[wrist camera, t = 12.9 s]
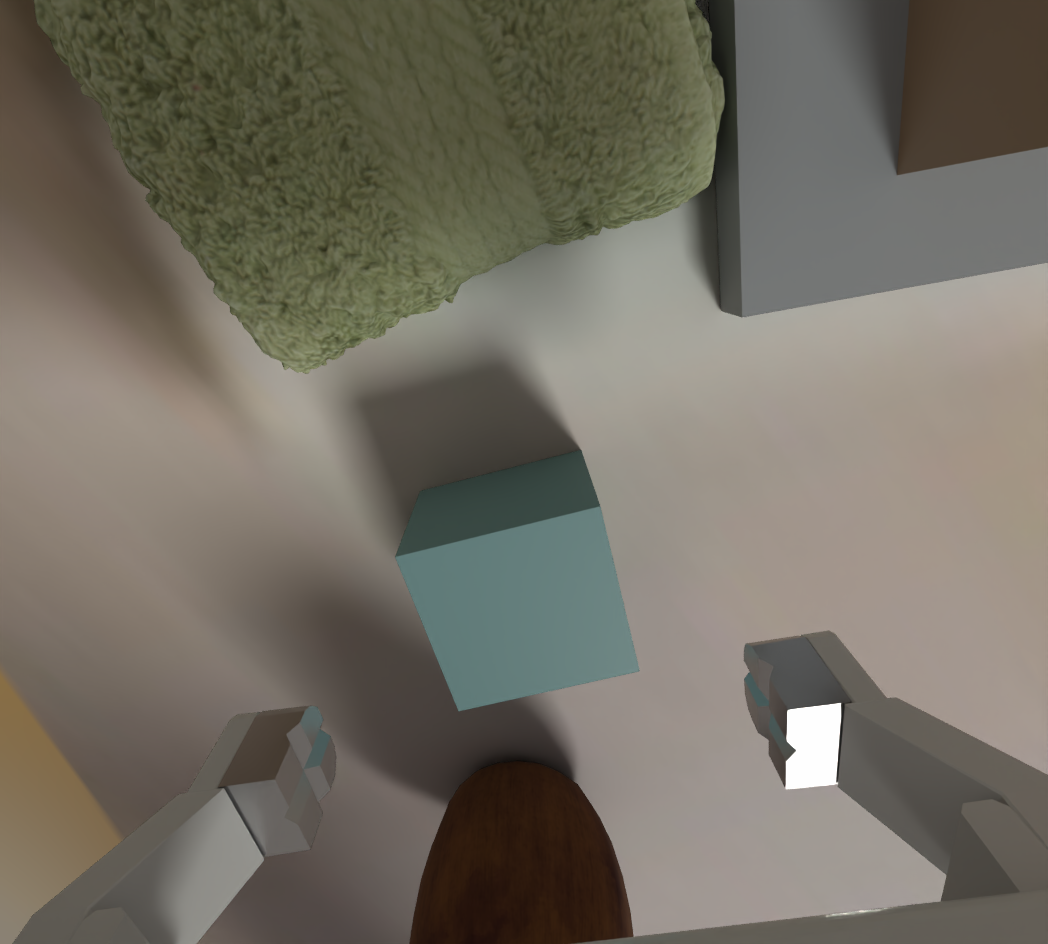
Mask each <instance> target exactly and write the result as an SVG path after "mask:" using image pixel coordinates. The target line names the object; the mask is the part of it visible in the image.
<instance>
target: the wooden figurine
mask: <svg viewBox="0 0 1048 944" xmlns="http://www.w3.org/2000/svg"><path fill="white" fill-rule="evenodd" d="M627 937H633V929H632V921H631V913H630V907H629V903H628V898H627V894H626V889H625V885H624V880H623V876H622V873H621V870H620V867H619V863H618V860H617V857H616V854H615V851H614V848H613V845H612V842H611V840H610V838H609V836H608V834H607V832H606V830H605V828H604V826H603V824H602V821H601V819H600V817H599V816H598V814H597V813H596V811H595V809H594V808H593V806H592V805H591V803H590V802H589V800H588V799H587V797H586V796H585V794H584V793H583V791H582V790H581V788H580V787H579V786H578V784H576V783H575V782H573V781H572V780H570V779H569V778H567V777H566V776H564V775H563V774H561V773H560V772H558V771H556V770H554V769H551V768H549V767H546V766H544V765H541V764H539V763H531V762H522V761H514V762H502V763H497V764H494V765H491V766H488V767H485V768H482V769H480V770H479V771H477V772H475V773H474V774H473V775H472V776H471V777H469V778H468V779H467V780H466V781H465V782H463V783H462V784H461V785H460V786H459V788H458V790H457V791H456V793H455V794H454V796H453V797H452V799H451V800H450V802H449V804H448V807H447V809H446V812H445V814H444V817H443V819H442V822H441V824H440V827H439V829H438V832H437V834H436V837H435V839H434V842H433V844H432V846H431V850H430V853H429V856H428V859H427V862H426V866H425V869H424V872H423V875H422V878H421V882H420V887H419V892H418V897H417V902H416V907H415V912H414V917H413V924H412V930H411V937H410V943H409V944H575V943H584V942H592V941H601V940H610V939H619V938H627Z"/></svg>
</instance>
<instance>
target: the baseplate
mask: <svg viewBox="0 0 1048 944" xmlns="http://www.w3.org/2000/svg"><path fill="white" fill-rule="evenodd" d="M709 18H710V31H711V32H712V38H711V60H712V61H713V62H714V64H715V65H716V67H717V69H718V71H719V73H720V76H722V78H723V86H724V96H725V104H724V109H723V111H722V113H721V119H720V124H719V130H718V132H717V139H716V151H715V172H716V198H717V223H718V249H719V275H720V300H721V311H723V312H726V313H730V314H733V315H736V316H739V317H747V316H753V315H758V314H764V313H770V312H775V311H781V310H786V309H792V308H797V307H803V306H808V305H814V304H820V303H825V302H831V301H836V300H842V299H847V298H853V297H859V296H864V295H870V294H875V293H881V292H886V291H892V290H898V289H903V288H909V287H914V286H920V285H925V284H931V283H936V282H942V281H948V280H953V279H959V278H964V277H970V276H975V275H981V274H987V273H992V272H998V271H1003V270H1009V269H1014V268H1020V267H1026V266H1031V265H1037V264H1042V263H1048V0H709Z"/></svg>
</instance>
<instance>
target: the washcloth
mask: <svg viewBox="0 0 1048 944" xmlns="http://www.w3.org/2000/svg"><path fill="white" fill-rule="evenodd" d="M33 1H34V6H35V14H36V19H37V24H38V25H39V26H40V28H41V29H42V30H43V31H44V32H45V33H46V34H47V35H48V36H49V37H50V40H51V43H52V45H53V47H54V49H55V51H56V53H57V55H58V56H59V58H60V59H61V61H62V62H63V63H64V64H66V65H67V66H69V67H70V70H71V74H72V76H73V77H74V78H75V79H76V80H77V81H78V83H80V84H81V85H82V86H81V88H80V89H81V91H82V94H83V95H86V96H88V97H91V98H93V99H94V100H95V101H97V102H98V103H99V104H100V105H101V108H102V115H103V118H104V119H105V120H106V122H107V123H108V124H109V128H110V133H111V137H112V142H113V146H114V148H115V149H117V150H119V152H120V154H121V157H122V160H123V162H124V164H125V166H126V168H127V170H128V173H129V174H131V175H132V176H133V177H134V178H135V179H136V180H137V181H138V182H140V183H141V184H142V185H143V186H145V187H147V188H149V189H150V190H151V191H150V193H149V194H148V195H146V200H145V201H146V202H148V203H149V205H150V207H151V208H152V210H153V211H154V212H155V213H157V214H158V216H159V217H160V218H161V219H163V220H165V221H167V222H169V224H170V225H171V226H172V228H173V229H174V230H175V232H176V233H177V234H178V235H179V236H180V237H181V243H182V245H183V247H184V249H186V250H188V251H189V252H191V253H192V254H193V255H194V256H195V257H196V259H197V260H198V262H199V264H200V266H201V268H202V269H203V270H204V272H205V273H206V275H207V277H208V278H209V279H210V280H212V281H213V282H214V283H215V286H214V294H215V295H216V296H217V297H218V298H219V299H220V300H221V301H223V302H225V303H227V304H228V305H229V306H230V313H231V314H232V315H236V316H237V318H238V320H239V322H241V323H242V325H243V327H244V328H245V329H246V330H247V331H248V332H249V333H250V334H251V336H252V337H253V339H254V340H255V343H256V344H257V345H258V346H259V347H260V349H261V350H262V352H263V353H264V354H266V355H269V356H270V357H271V358H274V359H277V360H279V361H281V362H282V365H283V367H284V370H286V369H288V368H289V367H290V368H291V369H292V370H294V371H296V372H298V373H299V372H303V373H305V374H308V373H309V371H310V369H316V368H318V367H319V366H321V365H327V363H326V360H327V359H332V360H335V359H337V358H339V357H340V356H341V355H343V354H344V351H345V349H346V348H354V347H355V346H356V345H359V344H360V343H361V342H362V341H364V340H366V339H368V338H374V339H375V338H378V337H381V336H383V335H385V331H386V328H387V327H388V328H391V327H394V326H395V325H397V323H398V322H399V319H400V318H402V317H405V318H407V317H408V316H409V315H411V314H422V313H426V312H429V311H434V310H436V309H438V307H439V305H440V304H441V303H442V302H443V301H444V300H446V301H448V302H449V303H453V299H454V296H456V293H457V291H458V289H459V286H460V284H461V283H463V282H465V281H467V280H468V279H469V278H471V277H472V276H474V275H478V274H482V273H485V272H488V271H489V270H491V269H492V268H493V267H495V266H496V265H499V264H502V263H505V262H508V261H511V260H512V259H514V258H515V257H517V256H518V255H520V254H521V253H523V252H526V251H529V250H531V249H533V248H535V247H536V246H538V245H541V244H544V243H549V244H553V245H562V244H566V243H569V242H570V241H572V240H577V239H581V240H583V239H584V238H585V237H587V236H589V235H598V234H599V233H600V231H601V229H602V227H603V226H604V227H606V228H608V229H615V228H619V227H622V226H623V225H626V224H629V223H630V222H631V221H640V220H643V219H647V218H654V217H657V216H659V215H661V214H663V213H665V212H668V211H670V210H672V209H674V208H678V207H679V206H680V205H681V204H682V203H686V202H687V201H688V200H689V199H690V198H692V197H694V196H695V195H696V194H698V193H699V192H701V191H702V190H704V189H705V188H707V187H708V186H709V184H710V182H711V179H712V173H713V166H714V159H715V151H716V139H717V132H718V130H719V124H720V119H721V113H722V111H723V109H724V104H725V96H724V86H723V78H722V76H720V73H719V71H718V69H717V67H716V65H715V64H714V62H713V61H712V60H711V38H712V32H711V31H710V29H709V24H708V22H707V21H706V19H705V18H704V17H703V16H702V15H703V12H702V11H701V10H700V9H699V8H698V7H697V6H696V4H695V0H33Z"/></svg>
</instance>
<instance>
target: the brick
mask: <svg viewBox="0 0 1048 944" xmlns="http://www.w3.org/2000/svg"><path fill="white" fill-rule="evenodd" d="M395 558H396V560H397V563H398V565H399V568H400V570H401V573H402V575H403V577H404V580H405V582H406V585H407V587H408V590H409V592H410V594H411V597H412V599H413V602H414V604H415V607H416V609H417V611H418V614H419V616H420V619H421V621H422V624H423V626H424V628H425V631H426V633H427V636H428V638H429V641H430V643H431V645H432V648H433V650H434V653H435V655H436V658H437V660H438V662H439V665H440V667H441V670H442V672H443V675H444V677H445V680H446V682H447V684H448V687H449V689H450V692H451V694H452V697H453V699H454V701H455V704H456V706H457V709H458V711H463V710H467V709H472V708H476V707H481V706H485V705H490V704H494V703H499V702H503V701H508V700H512V699H517V698H521V697H526V696H530V695H535V694H539V693H544V692H548V691H553V690H557V689H562V688H566V687H571V686H575V685H580V684H584V683H589V682H593V681H598V680H603V679H607V678H612V677H616V676H621V675H625V674H630V673H634V672H639V671H640V670H639V666H638V662H637V658H636V654H635V649H634V645H633V641H632V637H631V633H630V629H629V624H628V620H627V616H626V612H625V608H624V603H623V599H622V595H621V591H620V587H619V583H618V578H617V574H616V570H615V566H614V562H613V557H612V553H611V549H610V545H609V541H608V536H607V532H606V528H605V524H604V520H603V516H602V511H601V507H600V504H599V501H598V498H597V495H596V492H595V489H594V486H593V483H592V480H591V478H590V475H589V472H588V469H587V466H586V463H585V460H584V457H583V454H582V451H581V450H579V451H575V452H571V453H567V454H563V455H559V456H555V457H551V458H548V459H544V460H540V461H536V462H532V463H528V464H524V465H520V466H516V467H512V468H508V469H505V470H501V471H497V472H493V473H489V474H485V475H481V476H477V477H473V478H469V479H465V480H461V481H458V482H454V483H450V484H446V485H442V486H438V487H434V488H430V489H426V490H422V491H420V493H419V496H418V499H417V501H416V504H415V506H414V509H413V512H412V514H411V517H410V520H409V522H408V525H407V527H406V530H405V533H404V535H403V538H402V540H401V543H400V546H399V548H398V551H397V553H396V556H395Z"/></svg>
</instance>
